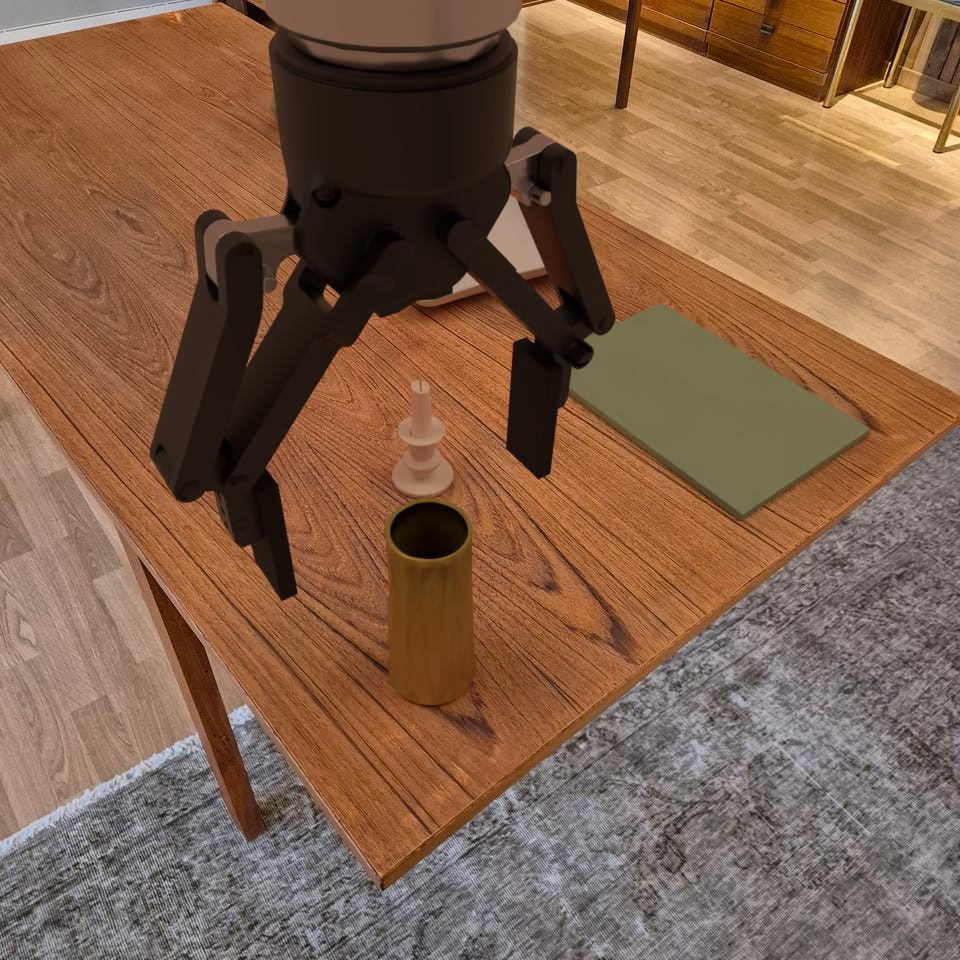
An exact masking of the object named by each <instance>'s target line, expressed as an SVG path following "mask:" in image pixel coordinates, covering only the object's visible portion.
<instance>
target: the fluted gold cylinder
mask: <svg viewBox="0 0 960 960" xmlns="http://www.w3.org/2000/svg"><path fill="white" fill-rule="evenodd" d="M472 525H473V524H472V522H471V520H470V518H469V515H468V514H467V513H466V512H465V510H464V509H462V508H461V507H460V506H458V505H457V504H456V503H454V502H452V501H449V500H446V499H442V498H437V497H432V498H421V499H418V498H415V499H412V500H409V501H407V502H405V503H404V504H402V505H400V506H398V507H397V508H396V509H395V510H394V511H392V513H391V514H390V515H389V517H388V518H387V520H386V522H385V524H384V528H383V535H384V538H385V544H386V545H385V548H386V566H387V581H388V582H387V583H388V599H387V637H388V639H387V640H388V648H389V654H388V655H389V656H388V660H387V662H388V663H387V674H388V678H389V681H390V682H389V683H391V685H392V687H393V688H394V690H395V691H396V692H397V693H398V694H399V695H400V696H401V697H402V698H404V699H405V700H407V701H409V702H412V703H415V704H418V705H424V706H439V705H444V704H447V703H450V702H452V701H455V700H456V699H458V698H459V697H461V696H462V695H463V694H464V693H465V692H466V691H468V689H469V688H470V687H471V685H472V684H473V682H474V679H475V677H476V670H477V661H476V657H475V638H474V596H473V593H474V592H473V589H474V587H473V584H474V583H473V530H474V529H473V526H472Z"/></svg>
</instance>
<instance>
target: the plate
mask: <svg viewBox="0 0 960 960" xmlns="http://www.w3.org/2000/svg"><path fill="white" fill-rule="evenodd" d="M487 239H488V240H489V241H490V242H491V243H492V244H493V245H494V246H495V247H496V248H497V249H498V250H499V251H500V252H501V253H502V254H503V255H504V256H505V257H506V259H507V260H508V261H509V262H510V263H511V264H512V265H513V266H514V267H515V268H516V269H517V270H516V271H517V272H518V273H519V274H520V275H521V276H522V277H523V278H524V279H525V280H526V281H528V280H531V279H534V278H539V277H543V276H548V274H547V271H546V269H545V267H544V264H543V262H542V259H541V257H540V255H539V252H538V250H537V248H536V245H535V243H534V240H533V238H532V236H531V233H530V231H529V229H528V226H527V224H526V221H525V219H524V217H523V214H522V212H521V210H520V207H519V205H518V202H517V199H516V198H514V197H513V196H511V195H510V196H509V199H508V201H507V203H506V205H505V207H504V209H503V210H502V212H501V214H500V216H499V217H498V219H497V221H496V223H495V224H494V226H493V228H492V230H491V231H490V233H489V235H488V237H487ZM484 293H488V292H487V291H486V290H485V289H484V288H483V287H482V286H481V285H480V284H478V283H477V282H476V281H475V280H474V279H473V278H472V277H471V276H470V275H469V274H468V273H466V274H465V276H464V277H463V278H462V279H461V280H460V281H459V282H458V283H457V284H456V285H454V286H453V294H450V295H447V296H444V297H441V298H438V299H435V300H421V301H416V302H414V304H416V305H418V306H421V307H426V308H427V307H428V308H429V307H437V306H441V305H444V304H448V303H451V302H454V301H457V300H461V299H465V298H468V297H472V296H475V295H480V294H484Z"/></svg>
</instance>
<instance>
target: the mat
mask: <svg viewBox="0 0 960 960" xmlns="http://www.w3.org/2000/svg"><path fill="white" fill-rule="evenodd" d="M584 341H586V342H587V343H588V344H589V345H591V346H592V347H593V349H594V355H593V357H592V359H591V361H590V362H589V364H588V365H586V366H585V367H584V368H582V369H575V368H573V367H572V371H571V379H570V386H569V395H568V396H570V397H572V398H573V399H574V400H575V401H577V402H579V404H581V405H583V407H585V408H586V409H588V410H589V411H591V412H592V413H593V414H594V415H596V416H598V418H600V419H601V420H603V421H604V422H605V423H607V424H608V425H610V426H611V427H612V428H614V429H615V430H617V431H618V432H619V433H621V434H622V435H623V436H624V437H626V438H627V439H629V440H630V441H632V442H633V443H634V444H636V445H637V447H640V448H641V449H642V450H644V451H645V452H646V453H648V454H649V455H650V456H651V457H653V458H655V459H656V460H657V461H658V462H660V463H661V464H662V465H664V466H665V467H666V468H667V469H670V471H672V472H673V473H675V474H676V475H678V476H679V477H680V478H682V479H683V480H684V481H685V482H687V483H688V484H690V485H691V486H692V487H693V488H695V489H696V490H698V491H699V492H701V493H702V494H703V495H705V496H706V497H707V498H709V499H710V500H711V501H712V502H714V503H715V504H717V505H718V506H720V507H721V509H723V510H725V511H726V512H728V513H729V514H730V515H732V516H733V517H734V518H736V520H738V521H740V522H742V521H744V520H745V519H746V518H747V517H749V516H751V515H752V514H754V513H755V512H757V511H758V510H760V509H761V508H763V507H764V506H765V505H767V504H769V503H770V502H771V501H773V500H774V499H776V498H777V497H779V496H780V495H782V494H783V493H785V492H786V491H788V490H789V489H791V488H792V487H794V486H795V485H797V484H798V483H800V482H801V481H803V480H804V479H805V478H807V477H809V476H810V475H812V474H813V473H815V472H816V471H817V470H819V469H820V468H822V467H824V466H825V465H826V464H828V463H830V462H831V461H832V460H834V459H836V457H838V456H840V455H841V454H843V453H845V451H847V450H848V449H850V448H851V447H853V446H855V445H856V444H857V443H859V442H860V441H862V440H863V439H865V438H866V437H868V436H869V434H870V432H871V430H872V428H870V427H869V426H868V425H865V424H864V423H862V422H860V421H859V420H857V419H855V418H854V417H852V416H850V415H849V414H848V413H846V412H844V411H842V410H841V409H839V408H837V407H835V406H834V405H833V404H831V403H829V402H827V401H825V400H824V399H822V398H821V397H819V396H817V395H816V394H814V393H812V392H811V391H809V390H807V389H806V388H804V387H802V386H801V385H799V384H798V383H796V382H794V381H793V380H791V379H789V378H788V377H786V376H784V375H782V374H780V373H779V372H778V371H776V370H774V369H772V368H771V367H769V366H768V365H766V364H764V363H762V362H761V361H759V360H757V359H756V358H755V357H752V356H751V355H750V354H748V353H746V352H745V351H742V350H741V349H739V348H737V347H736V346H734V345H733V344H731V343H730V342H728V341H726V340H724V339H722V338H721V337H719V336H718V335H716V334H714V333H713V332H711V331H710V330H708V329H706V328H705V327H703V326H701V325H699V324H698V323H696V322H694V321H693V320H691V319H689V318H687V317H686V316H684V315H683V314H681V313H680V312H678V311H676V310H675V309H673V308H671V307H669V306H668V305H667V304H665V303H663V302H659V303H657V304H654V305H653V306H651V307H648V308H646V309H644V310H642V311H639V312H638V313H635V314H634V315H633V314H632V315H631V316H629V317H627V318H625V319H624V320H621V321H618V322H615V323H614V325H613V327H612V329H611V330H610V331H609V332H608V333H606V334H605V335H602V336H599V335H596V334H595V333H592V334H591V335H589V336H588V337H587V338H585V339H584Z"/></svg>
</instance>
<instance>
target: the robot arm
mask: <svg viewBox="0 0 960 960" xmlns="http://www.w3.org/2000/svg"><path fill="white" fill-rule="evenodd" d="M262 5H263V8H264V12H265V14H266V15H267V16H268V17H269V18H270V19H271V20H272V21H273V22H274V23H275V24H276V25H278V27H277V29H276V31H275V32H274V34H273V36H272V38H271V39H270V40H269V44H268V47H267V49H268V58H269V59H268V60H269V65H270V66H269V67H270V72H271V73H270V74H271V81H272V88H273V91H274V98H275V105H276V113H277V121H278V122H277V121H276V122H277V128H278V135H279V143H280V150H281V154H282V159H283V165H284V169H285V173H286V180H287V185H286V193H285V197H284V201H283V204H282V206H281V209H280V211H279V214H276V215H274V214H273V215H267V216H262V217H256V218H249V219H242V220H236V221H234V220H232V219H231V218H230V216H228V215H227V214H226V212H225V211H222V210H220V209H216V208H215V209H214V208H211V209H208V210H204V211H202V213H201V214H200V215H198V216H197V219H196V220H195V222H194V229H193V231H194V242H195V243H194V244H195V255H196V265H197V266H196V267H197V276H198V277H197V278H198V279H197V282H196V285H195V288H194V292H193V295H192V299H191V303H190V307H189V310H188V313H187V317H186V320H185V324H184V327H183V331H182V334H181V338H180V340H179V341H180V342H179V345H178V349H177V352H176V354H175V355H176V356H175V359H174V363H173V367H172V370H171V374H170V377H169V381H168V384H167V387H166V390H165V393H164V394H165V395H164V398H163V402H162V405H161V407H160V408H161V409H160V413H159V416H158V420H157V423H156V426H155V430H154V433H153V437H152V441H151V444H150V446H149V447H150V448H149V458H150V459H151V461H152V463H153V465H154V466H155V468H156V470H157V471H158V473H159V475H160V477H161V478H162V479H163V481H164V483H165V484H166V486H167V488H168V489H169V491H170V492H171V494H172V496H173V498H174V499H175V501H178V502H179V503H182V504H188V503H193V502H195V501H197V500H199V499H200V498H201V497H202V496H204V495H205V493H206V492H207V493H208V492H213V496H214V499H215V503H216V507H217V511H218V516H219V518H220V522H221V523H222V525H223V526H224V528H225V529H226V531H227V532H228V534H229V536H230V537H231V538H232V540H233V541H234V543H235V544H237V545H238V547H240V548H241V549H244V548H246V547H248V546H250V545H251V550H252V555H253V559H254V562H255V563H256V565H257V566H258V568H259V569H260V571H261V572H262V574H263V576H264V577H265V578H266V580H267V582H268V583H269V584H270V586H271V587H272V590H273V591H274V592H275V594H276V595H277V597H278V598H279V600H280V601H281V602H284V601H287V600H288V599H290V598H293V597H294V596H297V595H298V594H299V593H298V587H297V581H296V576H295V575H296V574H295V570H294V564H293V558H292V553H291V548H290V542H289V536H288V531H287V525H286V520H285V514H284V513H285V512H284V509H283V503H282V497H281V492H280V486H279V484H278V482H277V481H276V480H275V478H274V477H273V476H272V474H271V473H270V471H269V470H268V469H267V466H268V465H269V464H270V462H271V460H272V459H273V458H274V455H275V453H276V452H277V450H278V449H279V447H280V446H281V444H282V443H283V441H284V439H285V437H286V436H287V434H288V433H289V431H290V430H291V429H292V426H293V425H294V423H295V422H296V420H297V418H298V417H299V415H300V413H301V412H302V410H303V409H304V407H305V406H306V404H307V402H308V401H309V399H310V397H311V396H312V394H313V393H314V391H315V389H316V388H317V386H318V385H319V384H320V382H321V380H322V378H323V376H324V375H325V373H326V372H327V370H328V369H329V367H330V365H331V364H332V362H333V360H334V358H335V357H336V355H337V354H338V353H339V351H340V350H341V349H343V348H350V347H352V346H353V345H354V343H355V342H356V341H357V340H358V339H359V336H360V335H361V334H362V333H363V331H364V328H365V327H366V326H367V324H368V323H369V321H370V319H371V318H372V316H373V314H374V315H376V316H377V317H378V318H379V319H383V318H386V317H389V316H393V315H394V314H397V313H400V312H401V311H403V310H404V309H405V310H406V308H408V307H410V306H411V305H413V304H415V302H416V301H421V300H435V299H438V298H441V297H444V296H447V295H450V294H453V286H454V285H456V284H457V283H458V282H459V281H460V280H461V279H462V278H463V277H464V276H465V274H466V273H468V274H469V275H470V276H471V277H472V278H473V279H474V280H475V281H476V282H477V283H478V284H480V285H481V286H482V287H483V288H484V289H485V290H486V291H487V292H486V293H488V294H489V295H490V296H491V297H492V298H493V299H494V300H495V301H496V302H497V303H498V304H499V305H500V306H501V307H503V308H504V309H505V310H506V311H507V312H508V313H509V314H510V315H511V316H512V317H513V318H515V320H516V321H518V322H519V323H520V324H521V325H522V327H524V328H525V329H526V330H527V331H528V332H529V333H530V334H532V335H533V336H534V339H533V340H531V339H530V338H528V337H527V336H525V337H521V338H519V339H517V340H515V341H513V342H512V353H511V365H510V366H511V369H510V381H509V385H510V386H509V396H508V412H507V413H508V414H507V427H506V440H505V449H506V450H507V451H508V452H509V453H510V454H511V455H512V456H513V457H514V458H515V459H516V460H517V461H519V463H520V464H521V465H523V467H524V468H526V469H527V471H528V472H529V473H531V474H532V475H533V476H534V477H535V478H536V479H537V480H538V481H539V480H540V479H543V478H545V477H547V476H549V475H551V472H552V464H553V455H554V447H555V440H556V439H555V438H556V430H557V423H558V414H559V409H562V408H564V407H565V405H566V403H567V401H568V398H569V396H570V395H569V386H570V379H571V371H572V367H573V368H575V369H582V368H584V367H585V366H586V365H588V364H589V362H590V361H591V359H592V357H593V355H594V349H593V347H592V346H591V345H589V344H588V343H587V342H586V341H584V339H585V338H587V337H589V336H591V335H593V334H596V335H599V336H602V335H605V334H606V333H608V332H609V331H610V330H611V329H612V327H613V325H614V324H616V319H617V317H616V313H615V310H614V307H613V304H612V301H611V299H610V295H609V293H608V289H607V286H606V284H605V281H604V278H603V276H602V272H601V269H600V267H599V264H598V261H597V258H596V255H595V253H594V249H593V247H592V243H591V240H590V238H589V235H588V233H587V229H586V227H585V226H586V225H585V223H584V221H583V218H582V215H581V212H580V208H579V206H578V204H577V186H578V185H577V184H578V183H577V181H578V180H577V179H578V178H577V177H578V159H577V154H576V153H575V152H574V151H573V150H571V149H569V148H568V147H567V146H565V145H564V144H561V143H560V142H558V141H556V140H555V139H553V138H551V137H550V136H549V135H546V134H544V133H543V132H541V131H540V130H538V129H536V128H534V127H532V126H530V125H529V126H523V127H522V128H521V129H519V130H518V131H517V132H516V133H515V117H516V115H515V114H516V113H515V112H516V97H517V76H518V60H519V46H518V44H517V42H516V40H515V38H513V37H512V35H511V33H510V31H509V30H508V28H509V27H510V26H511V25H513V23H515V22H516V21H517V20H518V18H519V16H520V13H521V11H522V8H523V0H262ZM514 133H515V135H514ZM510 195H511V196H513V197H514V198H516V199H517V202H518V205H519V207H520V210H521V212H522V214H523V217H524V219H525V221H526V224H527V226H528V229H529V231H530V233H531V236H532V238H533V240H534V243H535V245H536V248H537V250H538V252H539V255H540V257H541V259H542V262H543V264H544V267H545V269H546V271H547V276H548V278H549V281H550V283H551V286H552V288H553V290H554V292H555V295H556V298H557V300H558V302H559V304H560V305H559V306H558V307H556V308H555V309H554V308H553V307H552V306H551V305H550V304H549V303H548V302H547V301H546V300H545V299H544V298H543V297H542V296H541V295H540V294H539V292H537V291H536V290H535V288H533V286H532V285H531V284H530V283H529V282H528V280H525V279H524V278H523V277H522V276H521V275H520V274H519V273H518V272H517V271H516V270H517V269H516V268H515V267H514V266H513V265H512V264H511V263H510V262H509V261H508V260H507V259H506V257H505V256H504V255H503V254H502V253H501V252H500V251H499V250H498V249H497V248H496V247H495V246H494V245H493V244H492V243H491V242H490V241H489V240H488V239H487V237H488V235H489V233H490V231H491V230H492V228H493V226H494V224H495V223H496V221H497V219H498V217H499V216H500V214H501V212H502V210H503V209H504V207H505V205H506V203H507V201H508V199H509V196H510ZM293 255H295V256H297V257H298V259H299V260H298V262H297V264H296V265H295V267H294V269H293V270H292V272H291V274H290V276H289V277H288V279H287V281H286V282H285V284H284V286H283V289H282V305H281V308H280V309H279V311H278V313H277V314H276V316H275V318H274V320H273V321H272V323H271V325H270V326H269V328H268V330H267V331H266V333H265V335H264V337H263V338H262V340H261V342H260V343H259V345H258V346H257V348H256V350H255V352H254V353H253V355H252V357H251V359H250V356H251V353H252V350H253V347H254V344H255V341H256V338H257V336H258V331H259V328H260V325H261V322H262V317H263V309H264V294H270V293H273V292H274V291H275V290H276V289H277V286H278V279H277V274H278V270H279V267H280V265H281V263H283V262H284V260H286V259H288V257H292V256H293ZM327 286H329V287H330V288H331V289H332V290H333V291H334V292H336V294H338V296H339V297H338V298H337V300H336V302H335V303H334V305H333V306H332V305H331V303H329V302H328V301H327V300H326V299H325V296H324V295H325V290H326V288H327ZM249 359H250V360H249Z"/></svg>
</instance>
